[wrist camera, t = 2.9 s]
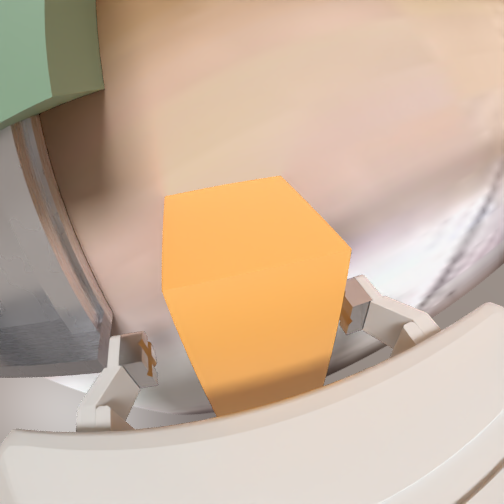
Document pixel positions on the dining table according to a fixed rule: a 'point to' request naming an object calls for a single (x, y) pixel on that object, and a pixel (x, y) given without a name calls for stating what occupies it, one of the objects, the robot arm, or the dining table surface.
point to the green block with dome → (46, 55)
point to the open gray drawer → (43, 270)
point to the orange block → (253, 290)
